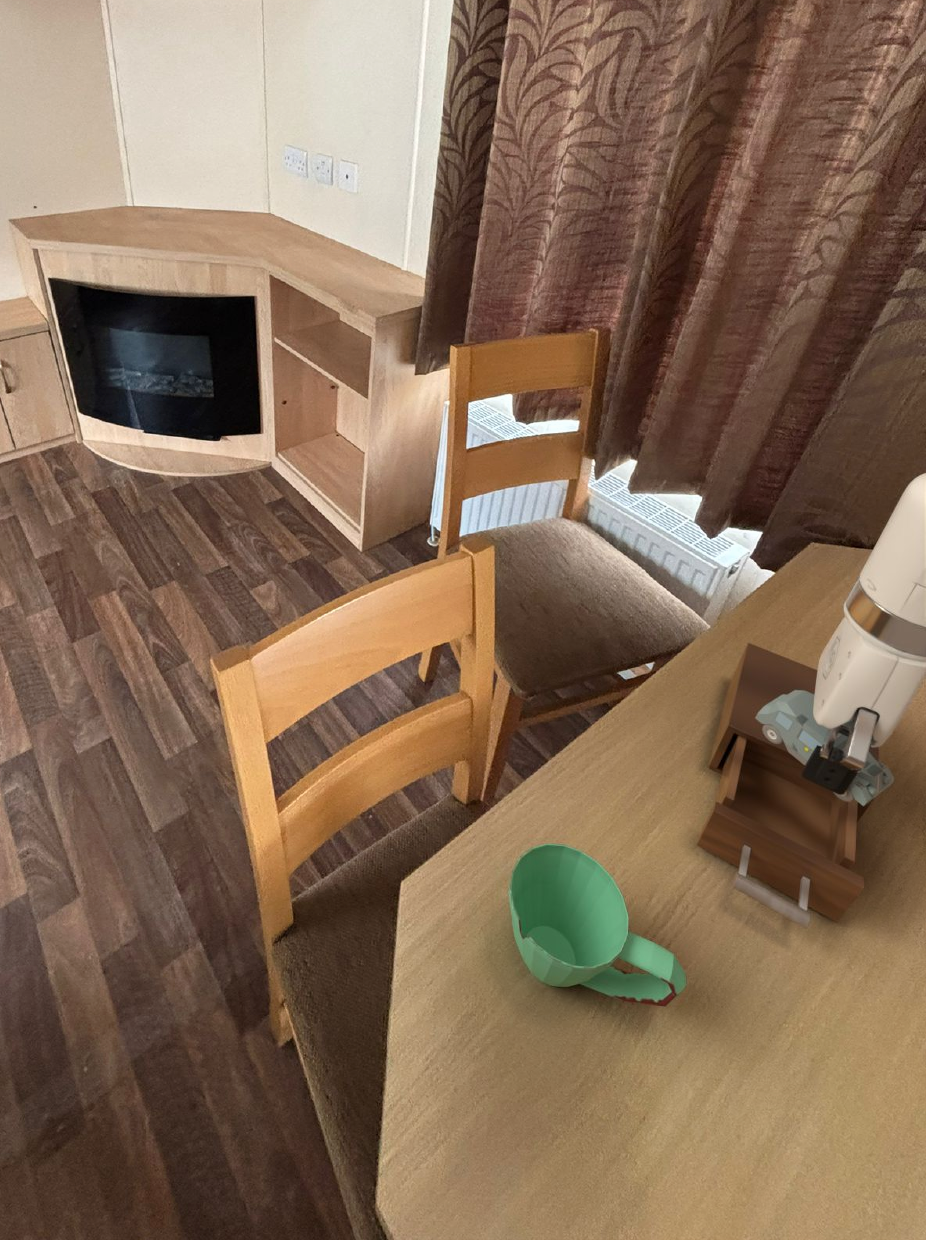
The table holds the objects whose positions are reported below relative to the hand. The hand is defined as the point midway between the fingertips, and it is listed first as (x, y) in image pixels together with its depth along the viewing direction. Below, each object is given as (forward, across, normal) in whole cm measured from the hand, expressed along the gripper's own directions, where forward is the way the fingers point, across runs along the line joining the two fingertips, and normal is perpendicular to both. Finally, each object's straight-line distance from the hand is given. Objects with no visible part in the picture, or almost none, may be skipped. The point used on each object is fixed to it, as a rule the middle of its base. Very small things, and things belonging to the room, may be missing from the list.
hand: (825, 746), depth 64 cm
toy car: (+1, 0, 0) cm, 1 cm away
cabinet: (+16, -12, 0) cm, 20 cm away
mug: (+16, +24, -13) cm, 31 cm away
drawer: (+15, +1, 0) cm, 15 cm away
